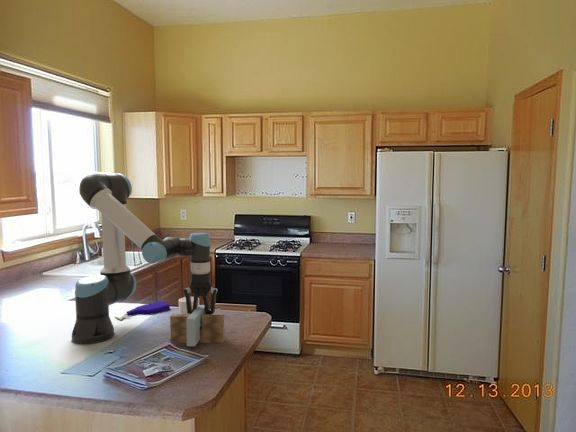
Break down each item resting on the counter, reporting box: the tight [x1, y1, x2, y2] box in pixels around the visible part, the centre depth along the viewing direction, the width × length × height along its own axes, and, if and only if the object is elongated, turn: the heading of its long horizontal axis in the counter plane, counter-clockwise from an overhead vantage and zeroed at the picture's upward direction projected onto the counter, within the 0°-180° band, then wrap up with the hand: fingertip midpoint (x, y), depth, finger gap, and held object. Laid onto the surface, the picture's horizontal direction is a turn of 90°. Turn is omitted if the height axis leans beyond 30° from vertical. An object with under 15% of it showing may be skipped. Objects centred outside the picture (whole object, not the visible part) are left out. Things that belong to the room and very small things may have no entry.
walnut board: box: [169, 313, 225, 344], centre depth 159 cm, size 20×3×10 cm, turn 87°
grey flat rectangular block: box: [186, 304, 206, 347], centre depth 159 cm, size 3×18×10 cm, turn 177°
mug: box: [178, 296, 200, 314], centre depth 179 cm, size 9×12×11 cm
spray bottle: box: [114, 301, 171, 321], centre depth 195 cm, size 3×11×24 cm
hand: (201, 330), depth 165 cm, fingers closed on grey flat rectangular block, 3 cm apart
